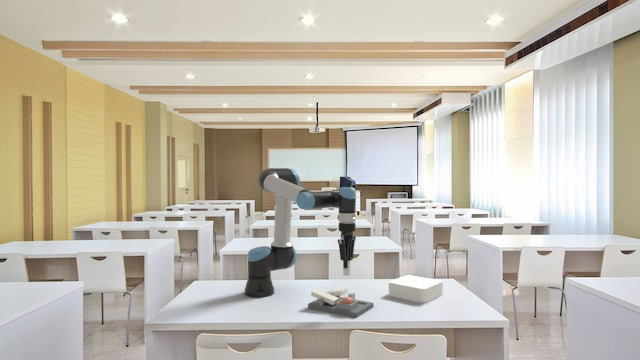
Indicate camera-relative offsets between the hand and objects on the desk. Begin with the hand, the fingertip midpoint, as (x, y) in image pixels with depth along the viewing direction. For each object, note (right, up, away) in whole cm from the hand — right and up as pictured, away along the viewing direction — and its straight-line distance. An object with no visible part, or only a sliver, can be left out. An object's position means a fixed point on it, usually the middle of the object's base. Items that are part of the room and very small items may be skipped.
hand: (346, 275), depth 189 cm
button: (0, -14, 0) cm, 14 cm away
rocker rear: (-5, -11, +13) cm, 18 cm away
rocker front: (-9, -11, +6) cm, 16 cm away
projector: (+37, -16, +27) cm, 49 cm away
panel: (-2, -16, +6) cm, 18 cm away
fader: (+3, -14, +9) cm, 17 cm away
